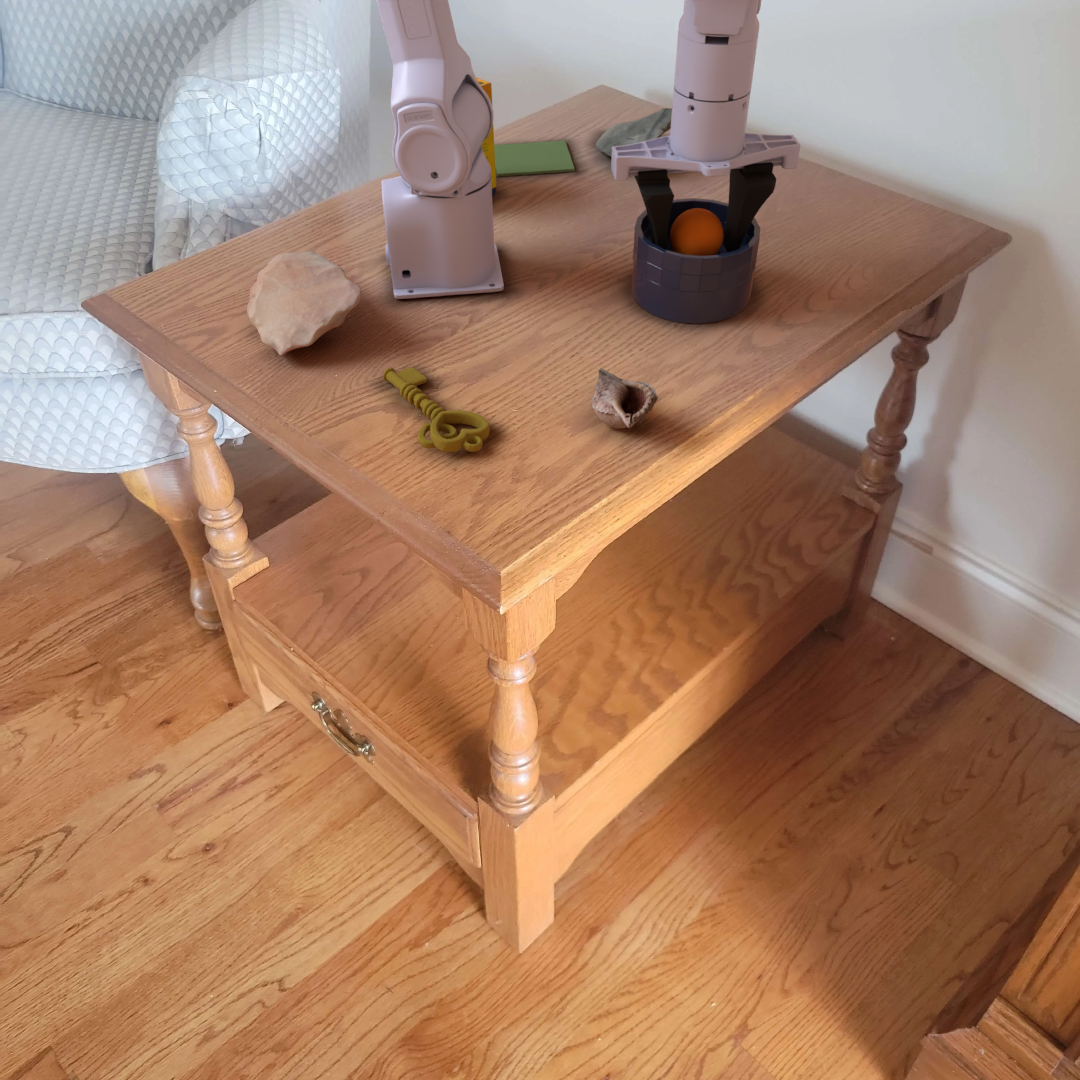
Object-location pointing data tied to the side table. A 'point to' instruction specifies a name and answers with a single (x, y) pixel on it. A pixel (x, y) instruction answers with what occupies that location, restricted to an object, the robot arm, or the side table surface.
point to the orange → (696, 233)
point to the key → (439, 415)
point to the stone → (635, 131)
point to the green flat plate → (532, 158)
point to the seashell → (622, 400)
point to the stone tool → (300, 300)
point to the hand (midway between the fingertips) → (694, 253)
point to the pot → (693, 272)
